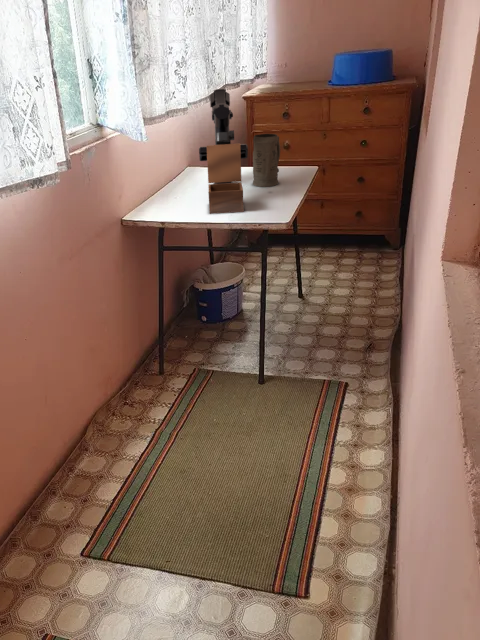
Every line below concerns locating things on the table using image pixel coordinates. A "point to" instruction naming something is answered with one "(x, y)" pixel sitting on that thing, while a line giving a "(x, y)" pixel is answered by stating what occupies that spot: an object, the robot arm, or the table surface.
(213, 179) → the lid
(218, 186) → the walnut box
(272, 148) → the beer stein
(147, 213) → the table surface
